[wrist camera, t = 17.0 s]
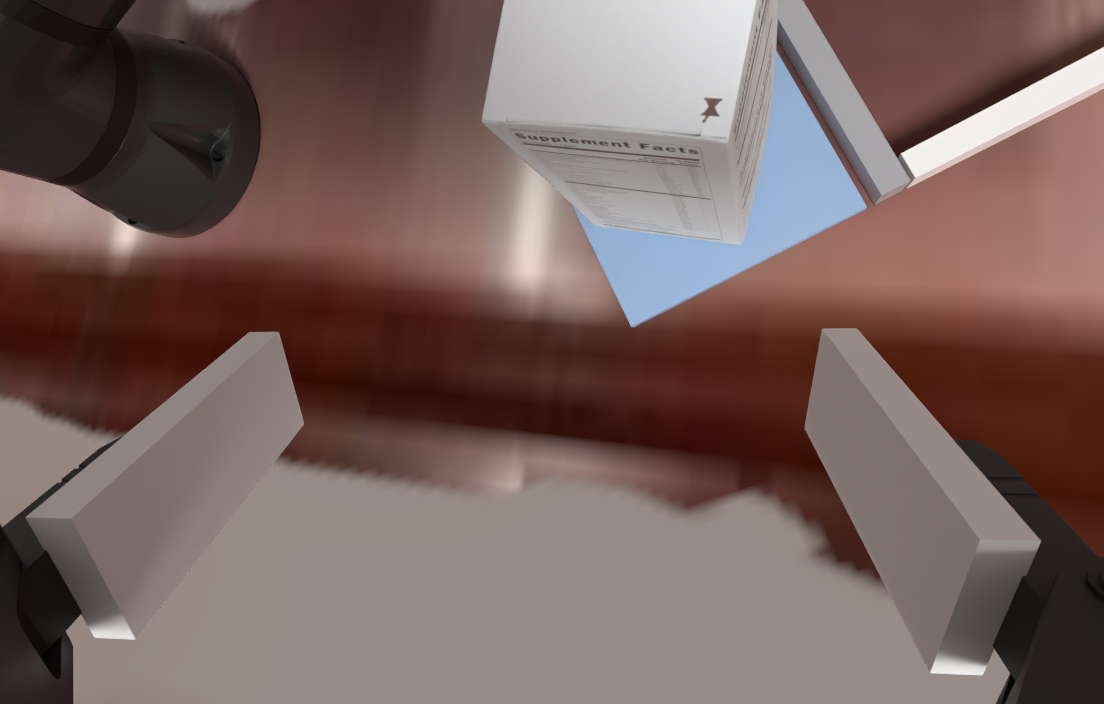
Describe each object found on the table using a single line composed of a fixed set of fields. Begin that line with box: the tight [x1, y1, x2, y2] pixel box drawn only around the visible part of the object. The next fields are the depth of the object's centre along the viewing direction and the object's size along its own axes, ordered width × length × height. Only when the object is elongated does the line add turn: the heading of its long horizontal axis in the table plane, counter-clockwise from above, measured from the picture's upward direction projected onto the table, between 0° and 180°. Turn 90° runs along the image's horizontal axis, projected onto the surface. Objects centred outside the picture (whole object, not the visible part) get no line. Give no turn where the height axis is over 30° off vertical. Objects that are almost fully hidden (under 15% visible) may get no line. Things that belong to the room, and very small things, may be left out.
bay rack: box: [572, 0, 1104, 327], centre depth 34 cm, size 16×32×2 cm, turn 115°
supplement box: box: [482, 0, 779, 245], centre depth 28 cm, size 10×9×17 cm
